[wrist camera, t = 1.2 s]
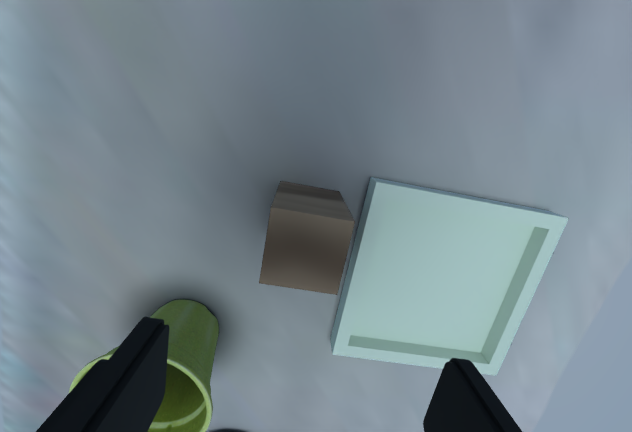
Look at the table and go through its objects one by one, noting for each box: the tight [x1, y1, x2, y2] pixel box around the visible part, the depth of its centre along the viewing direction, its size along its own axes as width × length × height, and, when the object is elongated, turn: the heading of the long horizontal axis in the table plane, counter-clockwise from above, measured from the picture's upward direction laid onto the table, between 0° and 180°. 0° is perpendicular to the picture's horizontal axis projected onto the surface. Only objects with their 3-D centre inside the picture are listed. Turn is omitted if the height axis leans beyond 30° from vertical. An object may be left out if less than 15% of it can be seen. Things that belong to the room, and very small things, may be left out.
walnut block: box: [259, 181, 355, 295], centre depth 22 cm, size 5×5×8 cm
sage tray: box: [330, 177, 569, 376], centre depth 27 cm, size 16×16×2 cm
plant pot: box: [69, 300, 219, 432], centre depth 25 cm, size 9×9×9 cm
